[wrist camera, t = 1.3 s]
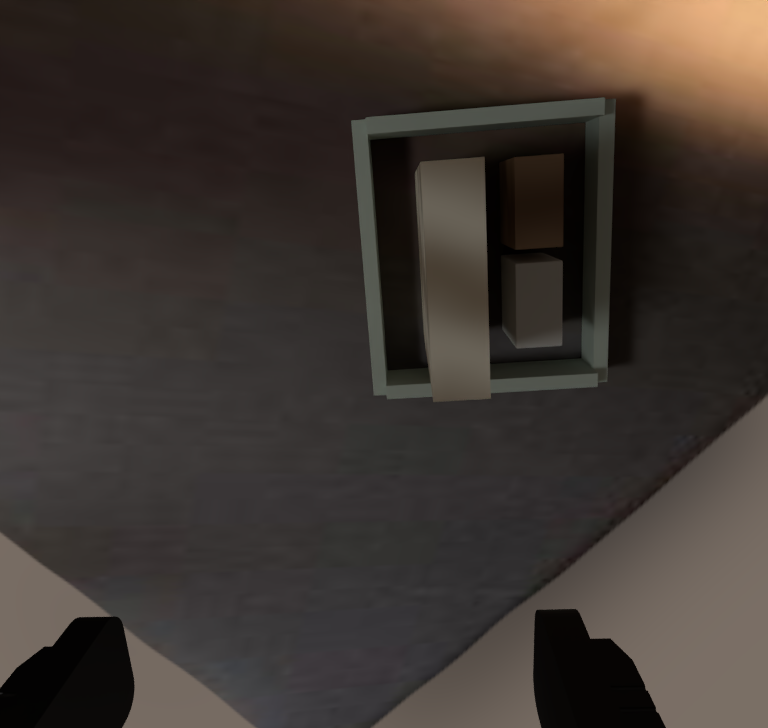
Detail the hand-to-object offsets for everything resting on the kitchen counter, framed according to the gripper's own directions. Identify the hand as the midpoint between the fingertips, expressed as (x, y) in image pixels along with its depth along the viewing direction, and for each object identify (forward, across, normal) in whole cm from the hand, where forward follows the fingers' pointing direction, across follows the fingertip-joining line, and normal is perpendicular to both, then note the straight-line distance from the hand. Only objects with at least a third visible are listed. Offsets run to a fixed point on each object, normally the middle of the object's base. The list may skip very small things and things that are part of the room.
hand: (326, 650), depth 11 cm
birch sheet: (+35, -4, -4) cm, 35 cm away
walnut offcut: (+35, -10, -7) cm, 37 cm away
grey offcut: (+35, -10, -1) cm, 37 cm away
